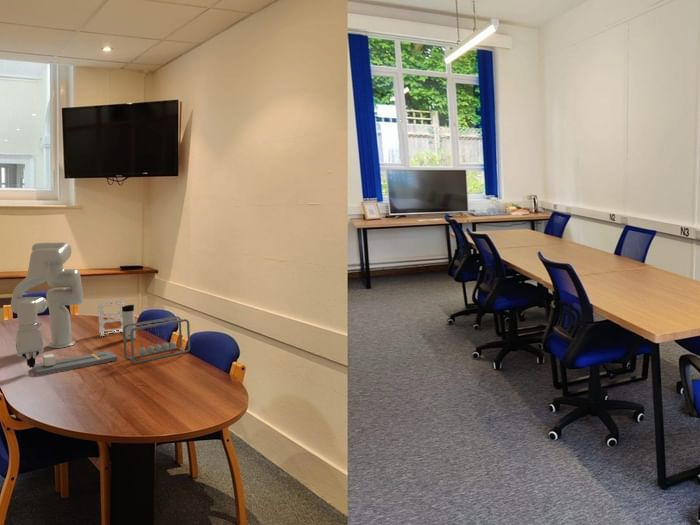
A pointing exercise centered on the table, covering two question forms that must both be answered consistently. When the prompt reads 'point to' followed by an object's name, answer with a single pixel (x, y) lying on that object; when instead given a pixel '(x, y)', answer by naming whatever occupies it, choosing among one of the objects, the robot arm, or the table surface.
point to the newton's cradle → (157, 347)
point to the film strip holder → (102, 321)
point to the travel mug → (128, 320)
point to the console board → (74, 362)
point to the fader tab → (49, 360)
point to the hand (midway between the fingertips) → (31, 366)
